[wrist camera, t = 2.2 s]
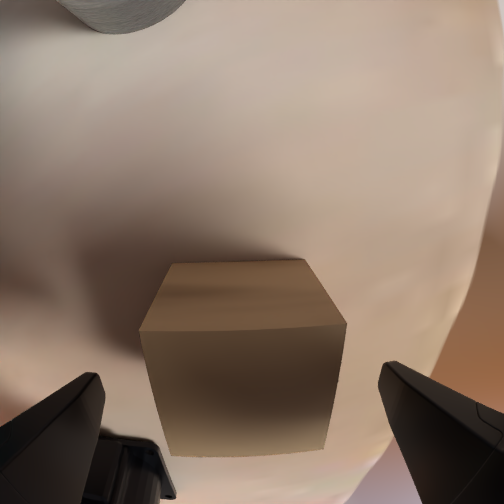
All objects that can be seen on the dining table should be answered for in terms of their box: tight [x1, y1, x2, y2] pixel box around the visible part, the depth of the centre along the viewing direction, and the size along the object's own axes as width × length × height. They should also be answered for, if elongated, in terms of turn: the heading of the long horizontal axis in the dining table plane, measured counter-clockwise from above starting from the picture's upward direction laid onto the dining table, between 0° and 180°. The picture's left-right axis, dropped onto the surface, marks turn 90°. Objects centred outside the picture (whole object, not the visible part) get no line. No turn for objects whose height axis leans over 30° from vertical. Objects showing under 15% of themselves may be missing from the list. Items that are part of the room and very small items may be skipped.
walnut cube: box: [139, 259, 347, 457], centre depth 10 cm, size 5×5×5 cm
